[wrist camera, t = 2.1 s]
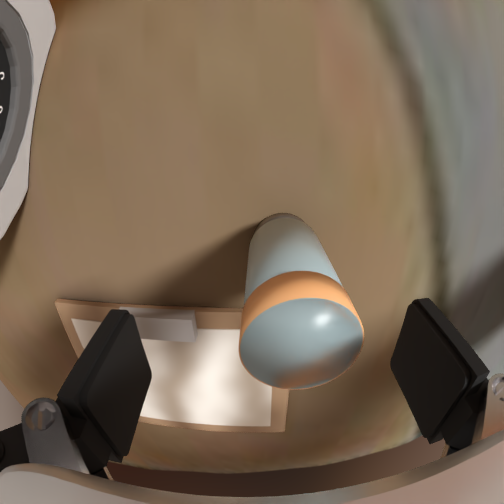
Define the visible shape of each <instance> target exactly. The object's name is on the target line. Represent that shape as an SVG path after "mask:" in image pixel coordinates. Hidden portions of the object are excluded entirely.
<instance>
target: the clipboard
mask: <svg viewBox="0 0 504 504" xmlns="http://www.w3.org/2000/svg"><path fill="white" fill-rule="evenodd" d="M54 303H55V305H56V308H57V311H58V313H59V316H60V318H61V321H62V323H63V326H64V328H65V330H66V333H67V335H68V337H69V340H70V342H71V344H72V346H73V349H74V351H75V353H76V355H77V357H78V359H79V357H80V356H81V354H82V352H83V351H84V349H85V348H86V346H87V344H88V343H89V341H90V340H91V338H92V337H93V335H94V333H95V332H96V330H97V329H98V327H99V326H100V324H101V323H102V321H103V320H104V318H105V317H106V315H107V314H108V312H109V311H110V310H111V309H122V310H128V311H129V313H130V314H132V315H133V316H134V318H135V321H136V324H137V328H138V331H139V334H140V338H141V341H142V344H143V347H144V350H145V353H146V356H147V359H148V362H149V365H150V368H151V371H152V379H151V383H150V386H149V389H148V392H147V395H146V398H145V401H144V404H143V407H142V410H141V413H140V417H139V420H138V421H139V422H144V423H150V424H156V425H163V426H170V427H178V428H186V429H196V430H207V431H222V432H284V431H285V422H286V414H287V405H288V396H289V390H287V389H280V388H275V387H271V386H269V385H266V384H264V383H262V382H260V381H258V380H257V379H255V378H254V377H252V376H251V375H250V374H249V373H248V372H247V370H246V369H245V368H244V366H243V364H242V363H241V360H240V357H239V336H240V326H241V316H242V311H243V308H209V307H180V306H154V305H134V304H117V303H103V302H90V301H78V300H67V299H57V300H56V301H55V302H54Z"/></svg>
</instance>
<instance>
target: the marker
mask: <svg viewBox="0 0 504 504" xmlns="http://www.w3.org/2000/svg"><path fill="white" fill-rule="evenodd" d="M363 343H364V330H363V326H362V323H361V321H360V318H359V316H358V314H357V312H356V310H355V308H354V306H353V304H352V302H351V300H350V298H349V296H348V294H347V292H346V291H345V289H344V288H343V287H342V285H341V283H340V280H339V278H338V276H337V274H336V272H335V271H334V269H333V267H332V265H331V263H330V261H329V259H328V257H327V255H326V253H325V251H324V249H323V247H322V245H321V243H320V242H319V240H318V238H317V236H316V234H315V233H314V231H313V230H312V229H311V228H310V227H309V226H308V225H307V224H306V223H305V222H304V221H303V220H302V219H300V218H299V217H297V216H295V215H292V214H288V213H278V214H273V215H271V216H269V217H267V218H265V219H264V220H263V221H262V222H261V223H260V224H259V225H258V226H257V228H256V230H255V233H254V235H253V237H252V239H251V242H250V246H249V255H248V266H247V277H246V287H245V298H244V307H243V311H242V316H241V326H240V336H239V357H240V360H241V363H242V364H243V366H244V368H245V369H246V370H247V372H248V373H249V374H250V375H251V376H252V377H254V378H255V379H257V380H258V381H260V382H262V383H264V384H266V385H269V386H271V387H275V388H280V389H287V390H300V389H308V388H313V387H317V386H320V385H323V384H326V383H328V382H330V381H332V380H334V379H336V378H337V377H339V376H340V375H342V374H343V373H344V372H346V371H347V370H348V369H349V368H350V367H351V366H352V365H353V363H354V362H355V361H356V359H357V358H358V356H359V354H360V352H361V350H362V347H363Z"/></svg>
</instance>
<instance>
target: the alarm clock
mask: <svg viewBox="0 0 504 504" xmlns="http://www.w3.org/2000/svg"><path fill="white" fill-rule="evenodd" d="M55 29H56V25H55V17H54V12H53V10H52V7H51V4H50V1H49V0H0V240H1V238H2V237H3V236H4V235H5V233H6V231H7V229H8V227H9V225H10V223H11V222H12V220H13V218H14V216H15V214H16V213H17V211H18V209H19V208H20V206H21V204H22V202H23V199H24V197H25V194H26V192H27V190H28V172H29V156H30V144H31V135H32V127H33V120H34V113H35V107H36V102H37V97H38V92H39V87H40V82H41V78H42V74H43V70H44V66H45V62H46V59H47V55H48V52H49V48H50V45H51V42H52V39H53V36H54V33H55Z"/></svg>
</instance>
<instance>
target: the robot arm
mask: <svg viewBox="0 0 504 504" xmlns="http://www.w3.org/2000/svg"><path fill="white" fill-rule="evenodd" d="M390 365H391V370H392V372H393V374H394V376H395V378H396V380H397V382H398V384H399V386H400V388H401V390H402V392H403V394H404V396H405V398H406V400H407V402H408V405H409V407H410V409H411V411H412V413H413V415H414V418H415V420H416V422H417V424H418V426H419V429H420V431H421V433H422V435H423V437H425V438H427V439H428V441H429V444H431V443H434V442H437V441H440V440H442V439H443V438H444V440H445V446H444V449H443V452H442V455H441V458H440V459H439V460H436V461H434V462H431V463H429V464H426V465H423V466H421V467H418V468H415V469H412V470H409V471H406V472H403V473H400V474H397V475H394V476H391V477H387V478H383V479H380V480H376V481H372V482H368V483H364V484H360V485H355V486H351V487H345V488H341V489H335V490H329V491H322V492H316V493H308V494H300V495H288V496H274V497H216V496H215V497H214V496H201V495H191V494H182V493H173V492H167V491H160V490H155V489H150V488H144V487H139V486H134V485H129V484H125V483H120V482H116V481H113V479H112V477H111V475H110V473H109V471H108V469H107V467H106V466H107V463H108V460H111V461H115V462H119V463H122V459H123V456H127V455H128V453H129V450H130V446H131V443H132V440H133V436H134V433H135V430H136V426H137V423H138V420H139V417H140V413H141V410H142V407H143V404H144V401H145V398H146V395H147V392H148V389H149V386H150V383H151V379H152V371H151V368H150V365H149V362H148V359H147V356H146V353H145V350H144V347H143V344H142V341H141V338H140V334H139V331H138V328H137V324H136V321H135V318H134V316H133V315H132V314H130V313H129V311H128V310H122V309H111V310H110V311H109V312H108V314H107V315H106V317H105V318H104V320H103V321H102V323H101V324H100V326H99V327H98V329H97V330H96V332H95V333H94V335H93V337H92V338H91V340H90V341H89V343H88V344H87V346H86V348H85V349H84V351H83V352H82V354H81V356H80V357H79V359H78V360H77V362H76V364H75V365H74V367H73V369H72V370H71V372H70V374H69V375H68V377H67V379H66V380H65V382H64V384H63V386H62V387H61V389H60V391H59V393H58V394H57V396H58V398H57V400H56V402H55V401H54V400H52V399H49V398H39V399H36V400H34V401H32V402H30V403H29V404H28V405H27V406H26V408H25V409H24V411H23V414H22V423H20V424H18V425H15V426H13V427H10V428H8V429H5V430H3V431H0V504H504V374H501V373H500V374H495V375H493V376H492V377H491V378H490V380H488V379H487V378H486V377H487V376H488V374H489V372H490V371H489V370H488V368H487V367H486V366H485V364H484V363H483V362H482V360H481V359H480V358H479V357H478V355H477V354H476V353H475V351H474V350H473V349H472V348H471V346H470V345H469V344H468V343H467V341H466V340H465V339H464V338H463V337H462V335H461V334H460V333H459V332H458V331H457V329H456V328H455V327H454V326H453V325H452V323H451V322H450V321H449V320H448V319H447V318H446V316H445V315H444V314H443V313H442V312H441V311H440V310H439V309H438V307H437V306H436V305H435V304H434V303H433V302H432V301H431V300H430V299H429V298H424V299H415V300H413V302H412V304H410V305H409V306H408V309H407V312H406V316H405V319H404V322H403V326H402V329H401V332H400V335H399V338H398V341H397V344H396V347H395V350H394V353H393V356H392V358H391V363H390Z"/></svg>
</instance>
